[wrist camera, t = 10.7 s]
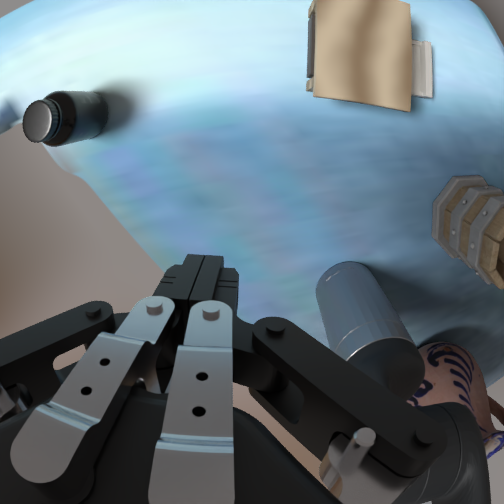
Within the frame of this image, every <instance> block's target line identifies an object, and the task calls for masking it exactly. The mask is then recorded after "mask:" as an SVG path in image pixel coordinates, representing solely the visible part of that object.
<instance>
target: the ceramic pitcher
mask: <svg viewBox="0 0 504 504" xmlns="http://www.w3.org/2000/svg"><path fill="white" fill-rule="evenodd" d="M418 351H419V352H420V354H421V356H422V358H423V360H424V363H425V376H424V380H423V382H422V384H421V386H420V387H419V389H418V390H417V391H416V393H415V394H414V395H413V396H412V397H411V398H410V399H408V400H407V401H406V402H408V403H409V404H411V405H412V406H414V407H415V408H416V407H422V406H427V405H432V404H438V403H444V402H458V403H460V404H462V405H464V406H466V407H467V408H468V409H469V410H470V411H471V413H472V414H473V416H474V417H475V419H476V421H477V423H478V425H479V428H480V431H481V434H482V437H483V441H484V446H485V451H486V457H487V459H488V458H490V457H491V456H492V455H493V454H494V453H496V452H497V451H499V450H500V449H503V448H504V431H500V430H496V429H495V428H494V426H493V423H492V420H491V414H493V415H494V416H495V417H496V418H497V419H498V420H499V421H500V422H501V423H502V424H503V425H504V408H503V407H502V406H500V404H498V403H497V402H496V401H494V400H493V399H492V398H491V397H489V396H488V395H487V390H486V385H485V382H484V378H483V375H482V372H481V370H480V368H479V366H478V364H477V362H476V361H475V359H474V357H473V356H472V355H471V354H470V352H469V351H467V350H466V349H465V348H463V347H461V346H459V345H457V344H453V343H448V342H435V343H430V344H427V345H425V346H423V347H421V348H419V349H418Z"/></svg>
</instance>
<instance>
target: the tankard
mask: <svg viewBox="0 0 504 504" xmlns="http://www.w3.org/2000/svg"><path fill="white" fill-rule="evenodd" d="M432 237H433V238H434V239H435V240H436V242H437V243H438V244H439V245H440V246H441V247H442V248H443V249H444V250H445V252H446V253H447V254H448V255H449V256H450V257H451V258H459V259H460V260H462V261H463V262H464V263H465V264H466V265H467V266H468V267H469V268H474V269H475V271H476V272H475V273H476V274H477V275H479V276H480V277H481V278H482V279H483V280H484V281H485V282H486V283H487V284H488V285H489V284H493V283H494V284H495V285H496V286H497V287H498V288H499V289H504V194H503V192H502V191H501V189H498V188H496V187H494V186H488V184H487V183H486V181H485V180H484V178H483V177H481V176H479V175H470V176H453V177H452V178H451V180H450V181H449V182H448V184H447V185H446V186H445V188H444V189H443V190H442V192H441V193H440V194H439V195H438V197H437V198H436V199H435V201H434V202H433V218H432Z"/></svg>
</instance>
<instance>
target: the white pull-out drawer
mask: <svg viewBox="0 0 504 504" xmlns="http://www.w3.org/2000/svg"><path fill="white" fill-rule="evenodd" d="M411 95H412V96H417V97H421V98H432V52H431V42H428V41H422V42H420V41H416V40H413V39H412V87H411Z"/></svg>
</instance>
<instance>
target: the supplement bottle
mask: <svg viewBox="0 0 504 504" xmlns="http://www.w3.org/2000/svg"><path fill="white" fill-rule="evenodd" d="M107 118H108V107H107V104H106V102H105V100H104V99H103V97H102V96H100V95H99V94H97V93H94V92H85V91H55V92H52V93H50V94H49V95H47V96H46V97H45V98H44V99H43V100H37V101H34V102H33V103H31V104H30V105H29V106H28V108H27V109H26V111H25V114H24V116H23V123H22V124H23V131H24V133H25V136H26V137H27V138H28V139H29V140H30V141H31V142H34V143H35V142H37V143H39V142H43V143H44V144H46V145H48V146H51V147H57V146H62V145H66V144H70V143H74V142H78V141H83V140H87V139H91V138H93V137H95V136H97V135H98V134H99V133H100V132H101V131H102V130H103V128H104V127H105V125H106V122H107Z"/></svg>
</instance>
